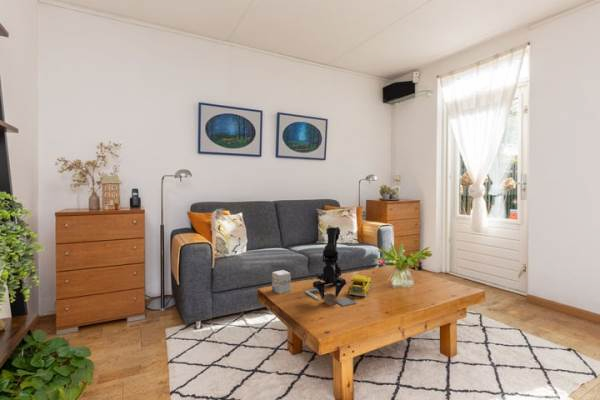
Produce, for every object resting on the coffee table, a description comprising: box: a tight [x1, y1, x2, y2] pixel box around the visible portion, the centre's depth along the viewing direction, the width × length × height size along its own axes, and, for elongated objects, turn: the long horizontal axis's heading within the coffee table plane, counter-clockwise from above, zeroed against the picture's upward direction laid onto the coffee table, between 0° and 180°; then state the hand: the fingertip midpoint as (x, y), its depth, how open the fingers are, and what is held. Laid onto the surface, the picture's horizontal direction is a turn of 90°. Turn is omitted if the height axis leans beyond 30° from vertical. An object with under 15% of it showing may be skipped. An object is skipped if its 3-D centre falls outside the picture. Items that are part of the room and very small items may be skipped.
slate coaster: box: [337, 297, 357, 307], centre depth 178 cm, size 9×9×1 cm
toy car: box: [348, 274, 372, 297], centre depth 197 cm, size 12×25×10 cm, turn 160°
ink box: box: [271, 269, 292, 295], centre depth 196 cm, size 9×8×12 cm
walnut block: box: [323, 292, 338, 306], centre depth 177 cm, size 4×6×4 cm
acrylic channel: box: [305, 288, 326, 301], centre depth 189 cm, size 8×14×1 cm, turn 28°
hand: (329, 298), depth 177 cm, fingers open, 9 cm apart
